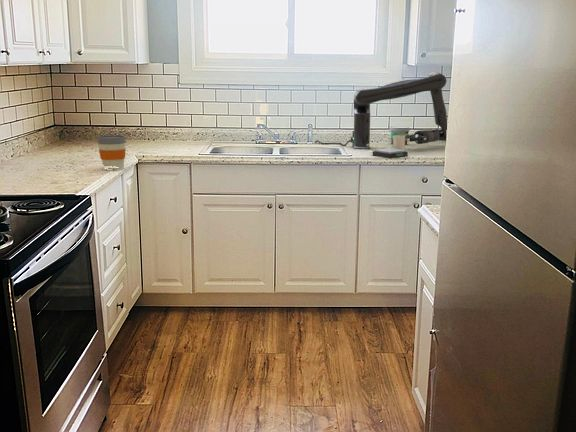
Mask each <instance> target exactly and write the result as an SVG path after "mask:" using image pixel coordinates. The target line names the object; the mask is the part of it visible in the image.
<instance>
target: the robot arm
mask: <svg viewBox="0 0 576 432" xmlns="http://www.w3.org/2000/svg"><path fill="white" fill-rule="evenodd" d="M446 84H447V78H446V75H444V74H443V73H441V72H438V71H432V72H430V73H429V75H428V76H426V77H422V78H410V79H409V78H408V79H401V80H397V81H393V82H389V83H387V84H384V85H382V86H378V87H374V88H359V89H357V90H356V91H355V92H354V95H353V130H352V136H351V137H350V139H349V140H348V141H346V142H345V143H344V144H343V143H341V142H322V141H320V140H319V139H317V140H315V141H314V144H317V143H319V144H322V145H340V146H342V147H346V146H347V145H348V144H349V143H350V144H351V146H352V148H354V149H358V150H359V149H360V150H361V149H365V150H367V149H370V147H371V146H370V145H371V143H370V142H371V104H374V103H377V102H381V101H388V100H396V99H400V98H405V97H409V96H412V95H416V94H419V93H423V92H430V97H431V102H432V108H433V116H434V117H433V118H434V122H435V123H434V124H435V125H436V126H437V127H440V128H433V129H421V130H416V131H415V132H414V133H408V134H406V135H404V136H405V140H407V142H411V143H413V142H415V143H416V144H417V145H423V144H424V145H425V144H429V143H430V144H431V143H435V142H438V141H439V142H447V141H446V129H447V120H448V113H447V107H446V104H445V100H444V96H443V88H444V87H445V86H446Z"/></svg>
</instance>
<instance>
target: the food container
mask: <svg viewBox="0 0 576 432" xmlns="http://www.w3.org/2000/svg"><path fill="white" fill-rule="evenodd" d="M389 131H390V142H391V145H393V136H394V135H406V134H410V131H411V130H410V127H392V126H390V127H389ZM405 145H408V141H407V140H405Z"/></svg>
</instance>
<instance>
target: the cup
mask: <svg viewBox="0 0 576 432" xmlns="http://www.w3.org/2000/svg"><path fill="white" fill-rule="evenodd" d="M392 148H393V149H400V150H406V144H405V136H404V135H394V136H393V144H392Z"/></svg>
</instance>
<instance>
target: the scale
mask: <svg viewBox="0 0 576 432" xmlns="http://www.w3.org/2000/svg"><path fill="white" fill-rule="evenodd" d="M371 156H374V157H378V158H379V157H380V158H386V159H396V158H403V157H404V158H405V157H408V156H409V152H408V151H406V149H405V150H400V149H393V147H385V148H378V149H373V151H372V155H371Z"/></svg>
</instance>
